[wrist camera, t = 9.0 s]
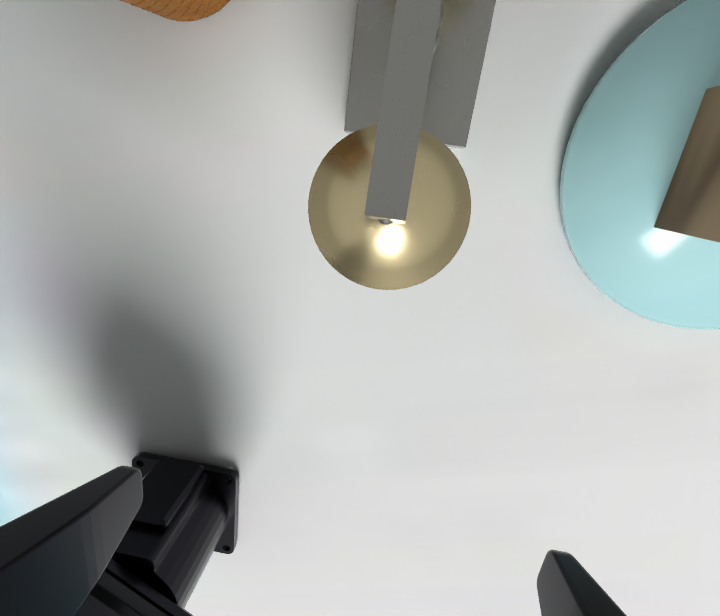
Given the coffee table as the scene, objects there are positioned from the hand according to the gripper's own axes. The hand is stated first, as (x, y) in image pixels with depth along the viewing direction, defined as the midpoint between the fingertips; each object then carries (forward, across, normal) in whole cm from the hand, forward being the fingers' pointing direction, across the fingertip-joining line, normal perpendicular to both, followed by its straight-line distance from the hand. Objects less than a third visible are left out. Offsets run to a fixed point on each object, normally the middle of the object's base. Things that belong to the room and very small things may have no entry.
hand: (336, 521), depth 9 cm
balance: (+12, 0, -11) cm, 16 cm away
